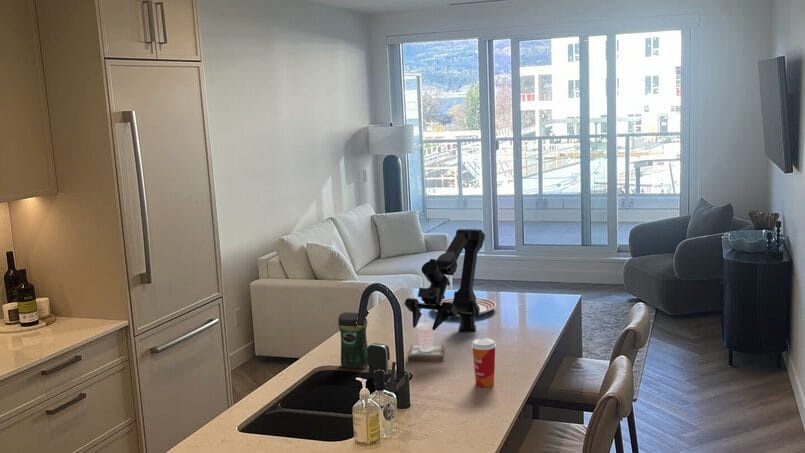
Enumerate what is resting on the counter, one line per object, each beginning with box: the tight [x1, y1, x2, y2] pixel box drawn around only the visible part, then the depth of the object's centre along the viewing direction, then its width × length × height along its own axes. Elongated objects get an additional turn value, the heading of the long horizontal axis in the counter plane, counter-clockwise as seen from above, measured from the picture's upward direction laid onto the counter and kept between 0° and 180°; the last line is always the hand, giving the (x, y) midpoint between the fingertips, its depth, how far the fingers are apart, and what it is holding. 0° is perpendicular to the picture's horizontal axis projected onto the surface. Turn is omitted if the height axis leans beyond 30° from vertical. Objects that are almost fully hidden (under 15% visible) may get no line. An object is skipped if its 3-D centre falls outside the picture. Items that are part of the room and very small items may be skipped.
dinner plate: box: [433, 297, 497, 318], centre depth 326 cm, size 28×27×3 cm
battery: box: [367, 342, 391, 379], centre depth 254 cm, size 7×4×11 cm, turn 63°
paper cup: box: [471, 337, 497, 389], centre depth 244 cm, size 8×8×14 cm
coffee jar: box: [337, 311, 369, 369], centre depth 267 cm, size 10×8×19 cm
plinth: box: [407, 344, 445, 363], centre depth 274 cm, size 12×12×2 cm
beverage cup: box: [416, 310, 434, 352], centre depth 272 cm, size 6×6×14 cm
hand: (423, 328), depth 271 cm, fingers open, 7 cm apart
